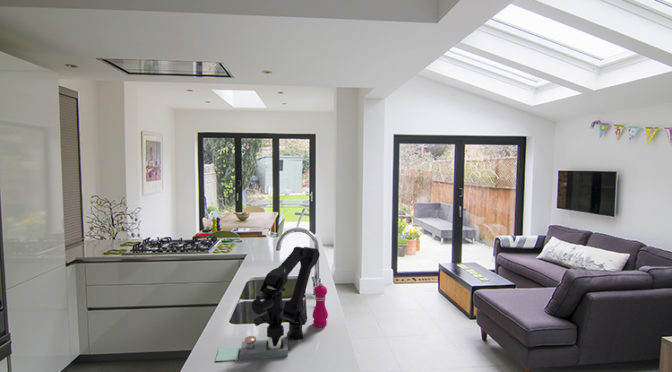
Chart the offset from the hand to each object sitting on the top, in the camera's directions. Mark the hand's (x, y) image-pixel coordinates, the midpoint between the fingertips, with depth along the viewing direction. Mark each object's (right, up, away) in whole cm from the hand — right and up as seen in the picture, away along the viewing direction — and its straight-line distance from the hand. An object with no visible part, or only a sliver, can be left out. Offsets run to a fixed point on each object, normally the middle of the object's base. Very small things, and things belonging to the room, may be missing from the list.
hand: (274, 342), depth 140 cm
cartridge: (0, -4, 0) cm, 4 cm away
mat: (-18, -3, -3) cm, 18 cm away
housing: (-4, -4, 0) cm, 5 cm away
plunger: (-9, -3, -1) cm, 10 cm away
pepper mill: (+17, -2, +24) cm, 29 cm away
